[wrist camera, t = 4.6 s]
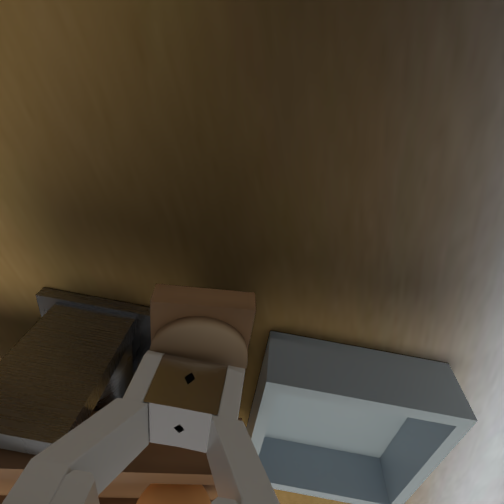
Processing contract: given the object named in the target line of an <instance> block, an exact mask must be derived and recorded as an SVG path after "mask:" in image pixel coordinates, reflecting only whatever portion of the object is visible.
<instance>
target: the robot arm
mask: <svg viewBox="0 0 504 504" xmlns="http://www.w3.org/2000/svg"><path fill="white" fill-rule="evenodd" d="M227 369H228V370H227ZM244 375H245V368H240V367H234V366H228V365H226V364H220V363H214V362H208V361H202V360H193V359H188V358H184V357H179V356H174V355H169V354H165V353H160V352H154V351H149V350H148V351H147V352H146V353H145V354H144V356H143V358H142V360H141V362H140V364H139V366H138V368H137V370H136V372H135V374H134V376H133V378H132V380H131V382H130V384H129V386H128V388H127V390H126V392H125V394H124V396H123V398H116V399H115V400H113V401H112V402H111V403H109V404H108V405H106V406H105V407H103V408H102V409H101V410H99V411H98V412H96V413H95V414H94V415H92V416H91V417H89V418H88V419H87V420H85V421H84V422H82V423H81V424H80V425H78V426H77V427H75V428H74V429H72V430H71V431H70V432H68V433H67V434H65V435H64V436H63V437H61V438H60V439H58V440H57V441H56V442H54V443H53V444H51V445H50V446H49V447H47V448H46V449H44V450H43V451H42V452H40V453H39V454H37V455H36V456H34V457H33V458H32V459H31V460H30V461H29V463H28V464H27V466H26V467H25V469H24V470H23V472H22V473H21V475H20V477H19V478H18V480H17V481H16V483H15V484H14V486H13V487H12V489H11V490H10V492H9V493H8V495H7V496H6V498H5V499H4V501H3V503H2V504H100V503H99V498H98V495H99V494H100V493H101V492H102V491H103V490H104V489H105V488H106V487H107V486H108V485H109V484H110V483H111V482H112V481H113V480H114V479H115V478H116V477H117V476H118V475H119V474H120V473H121V472H122V471H123V470H124V469H125V468H126V467H127V466H128V465H129V464H130V463H131V462H132V461H133V460H134V459H135V458H136V457H137V456H138V455H139V454H140V453H141V452H142V451H143V450H144V449H145V448H146V447H147V446H148V445H149V442H151V443H157V444H163V445H170V446H176V447H181V448H186V449H190V450H195V451H199V452H204V453H207V454H206V455H207V459H208V462H209V466H210V469H211V473H212V476H213V480H214V483H215V487H216V491H217V494H218V497H217V498H216V499H214V500H213V501H212V502H211V504H280V503H279V501H278V499H277V496H276V494H275V492H274V490H273V487H272V485H271V483H270V481H269V478H268V476H267V474H266V472H265V469H264V467H263V465H262V463H261V461H260V458H259V456H258V454H257V452H256V449H255V447H254V445H253V443H252V440H251V438H250V436H249V434H248V431H247V429H246V427H245V425H244V422H243V421H240V420H238V416H239V409H240V402H241V395H242V389H243V382H244Z"/></svg>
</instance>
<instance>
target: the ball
mask: <svg viewBox="0 0 504 504" xmlns="http://www.w3.org/2000/svg"><path fill="white" fill-rule="evenodd" d="M136 504H211V501H210V498H209V496H208V493H207V491H206V490H205V488H204V487H203V485H189V484H150V485H149V486H148V487H147V488H146V489H145V490H144V492H143V493H142V494H141V496H140V498H139V499H138V501H137V503H136Z"/></svg>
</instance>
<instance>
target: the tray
mask: <svg viewBox="0 0 504 504" xmlns="http://www.w3.org/2000/svg"><path fill="white" fill-rule="evenodd" d="M476 422H477V419H476V417H475V415H474V413H473V411H472V409H471V407H470V405H469V403H468V401H467V399H466V397H465V395H464V393H463V391H462V389H461V387H460V385H459V383H458V381H457V379H456V377H455V375H454V373H453V371H452V369H451V367H450V365H449V364H448V363H443V362H437V361H432V360H427V359H421V358H416V357H410V356H405V355H400V354H394V353H389V352H383V351H378V350H372V349H367V348H362V347H356V346H351V345H345V344H340V343H334V342H329V341H324V340H318V339H313V338H307V337H302V336H296V335H291V334H286V333H280V332H275V331H270V334H269V339H268V343H267V347H266V351H265V355H264V359H263V363H262V367H261V371H260V375H259V379H258V383H257V387H256V391H255V395H254V399H253V403H252V407H251V411H250V415H249V420H248V424H247V428H246V429H247V431H248V434H249V436H250V438H251V440H252V443H253V445H254V447H255V449H256V452H257V454H258V456H259V458H260V461H261V463H262V465H263V467H264V469H265V472H266V474H267V476H268V478H269V481H270V483H271V485H272V487H273V489H278V490H283V491H289V492H294V493H299V494H304V495H310V496H315V497H320V498H326V499H331V500H336V501H341V502H347V503H352V504H404V503H405V502H406V501H407V500H408V499H409V498H410V496H411V495H412V494H413V493H414V492H415V491H416V490H417V489H418V487H419V486H420V485H421V484H422V483H423V482H424V481H425V480H426V478H427V477H428V476H429V475H430V474H431V473H432V472H433V471H434V469H435V468H436V467H437V466H438V465H439V464H440V463H441V462H442V460H443V459H444V458H445V457H446V456H447V455H448V454H449V453H450V451H451V450H452V449H453V448H454V447H455V446H456V445H457V444H458V442H459V441H460V440H461V439H462V438H463V437H464V436H465V435H466V433H467V432H468V431H469V430H470V429H471V428H472V427H473V426H474V424H475V423H476Z"/></svg>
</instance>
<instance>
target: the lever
mask: <svg viewBox="0 0 504 504" xmlns="http://www.w3.org/2000/svg"><path fill="white" fill-rule="evenodd" d="M255 313H256V302H255V293H253V292H242V291H231V290H220V289H209V288H198V287H187V286H176V285H165V284H156V285H155V288H154V291H153V294H152V297H151V300H150V323H151V346H150V350H149V351H154V352H160V353H165V354H169V355H174V356H179V357H184V358H188V359H193V360H202V361H208V362H214V363H220V364H226V365H228V366H234V367H240V368H245V370H246V367H247V363H248V353H247V352H248V347H249V342H250V337H251V333H252V328H253V323H254V318H255ZM227 370H228V369H227ZM96 412H98V411H92V413H91V415H90V417H91V416H92V415H94V414H95V413H96ZM238 420H240V421H242V418H238ZM206 454H207V453H204V452H199V451H195V450H190V449H186V448H181V447H176V446H170V445H163V444H157V443H151V442H149V445H148V446H147V447H146V448H145V449H144V450H143V451H142V452H141V453H140V454H139V455H138V456H137V457H136V458H135V459H134V460H133V461H132V462H131V463H130V464H129V465H128V466H127V467H126V468H125V469H124V470H123V471H122V472H121V473H120V474H119V475H118V476H117V477H116V478H115V479H114V480H113V481H112V482H111V483H110V484H109V485H108V486H107V487H106V488H105V489H104V490H103V491H102V492H101V493H100V494H99V495H98V498H99V503H100V504H136V503H137V501H138V499H139V498H140V496H141V494H142V493H143V492H144V490H145V489H146V488H147V487H148V486H149V485H150V484H189V485H203V487H204V488H205V490H206V491H207V493H208V496H209V498H210V501H211V502H212V501H213V500H214V499H216V498H217V497H218V494H217V491H216V487H215V483H214V480H213V476H212V473H211V469H210V466H209V462H208V459H207V455H206ZM34 456H36V455H33V454H27V453H22V452H17V451H12V450H6V449H1V448H0V504H2V503H3V501H4V499H5V498H6V496H7V495H8V493H9V492H10V490H11V489H12V487H13V486H14V484H15V483H16V481H17V480H18V478H19V477H20V475H21V473H22V472H23V470H24V469H25V467H26V466H27V464H28V463H29V461H30V460H31V459H32V458H33V457H34Z"/></svg>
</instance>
